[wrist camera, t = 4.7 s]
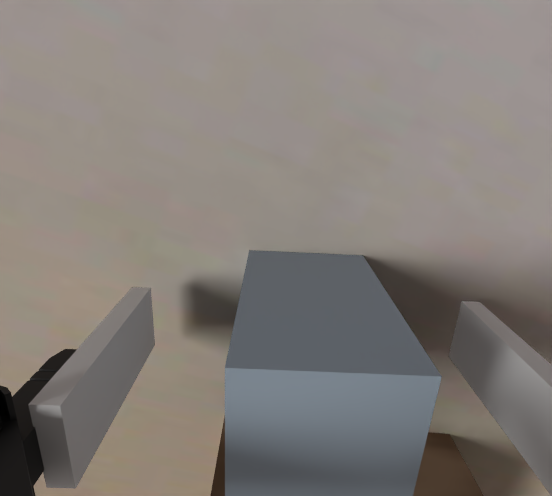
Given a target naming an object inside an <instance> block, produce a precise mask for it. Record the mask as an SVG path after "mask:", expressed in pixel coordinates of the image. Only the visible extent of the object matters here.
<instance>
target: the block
mask: <svg viewBox="0 0 552 496" xmlns="http://www.w3.org/2000/svg"><path fill="white" fill-rule="evenodd" d="M441 377H442V376H441V375H440V373H439V372H438V370H437V369H436V367H435V365H434V364H433V362H432V361H431V359H430V358H429V356H428V355H427V353H426V352H425V350H424V349H423V347H422V346H421V344H420V342H419V341H418V339H417V338H416V336H415V335H414V333H413V332H412V330H411V329H410V327H409V326H408V324H407V322H406V321H405V319H404V318H403V316H402V315H401V313H400V312H399V310H398V309H397V307H396V306H395V304H394V302H393V301H392V299H391V298H390V296H389V295H388V293H387V292H386V290H385V289H384V287H383V286H382V284H381V282H380V281H379V279H378V278H377V276H376V275H375V273H374V272H373V270H372V269H371V267H370V266H369V264H368V262H367V261H366V259H365V258H364V256H363V255H342V254H320V253H298V252H275V251H253V250H249V255H248V259H247V264H246V269H245V274H244V279H243V284H242V288H241V293H240V298H239V303H238V308H237V312H236V317H235V322H234V327H233V332H232V337H231V341H230V346H229V351H228V356H227V361H226V365H225V496H413V493H414V489H415V485H416V481H417V476H418V472H419V468H420V464H421V460H422V456H423V452H424V447H425V443H426V439H427V435H428V431H429V427H430V423H431V419H432V414H433V410H434V406H435V402H436V398H437V394H438V390H439V385H440V381H441Z"/></svg>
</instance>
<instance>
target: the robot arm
mask: <svg viewBox="0 0 552 496" xmlns="http://www.w3.org/2000/svg"><path fill="white" fill-rule="evenodd" d="M154 345H155V339H154V326H153V312H152V299H151V288H142V287H132V288H131V289H130V290H129V291H128V292H127V294H126V295H125V296H124V297H123V298H122V299H121V300H120V301H119V303H118V304H117V305H116V306H115V307H114V308H113V309H112V311H111V312H110V313H109V314H108V315H107V316H106V317H105V318H104V320H103V321H102V322H101V323H100V324H99V325H98V326H97V327H96V329H95V330H94V331H93V332H92V333H91V334H90V335H89V337H88V338H87V339H86V340H85V341H84V342H83V343H82V344H81V346H80V347H79V348H78V349H77V350H76V349H64V350H63V351H61V352H59V353H58V354H56V355H54V356H53V357H51V358H49V359H48V361H47V362H46V363H45V364H44V365H43V366H42V367H41V368H40V369H39V371H38V372H36V373H35V374H34V375H33V376H32V377H31V378H30V381H27V382H26V383H25V384H24V385H23V386H22V387H21V388H20V389H19V390H18V392H17V393H16V394H15V395H14V396H13V397H12V396H11V392H10V391H9V390H8V388H6V387H3V386H0V496H35V492H34V488H33V486H34V484H35V483H36V481H37V480H38V478H39V477H40V475H41V474H42V472H43V473H44V478H45V482H46V487H50V488H76V487H77V485H78V483H79V481H80V479H81V478H82V476H83V474H84V472H85V470H86V469H87V467H88V465H89V463H90V461H91V459H92V458H93V456H94V454H95V452H96V450H97V449H98V447H99V445H100V443H101V441H102V440H103V438H104V436H105V434H106V432H107V430H108V429H109V427H110V425H111V423H112V421H113V420H114V418H115V416H116V414H117V412H118V411H119V409H120V407H121V405H122V403H123V401H124V400H125V398H126V396H127V394H128V392H129V391H130V389H131V387H132V385H133V383H134V381H135V380H136V378H137V376H138V374H139V372H140V371H141V369H142V367H143V365H144V363H145V362H146V360H147V358H148V356H149V354H150V352H151V351H152V349H153V347H154ZM449 358H450V359H451V361H452V362H453V363H454V365H455V366H456V367H457V369H458V370H459V371H460V373H461V374H462V375H463V377H464V378H465V380H466V381H467V382H468V384H469V385H470V386H471V388H472V389H473V390H474V392H475V393H476V394H477V396H478V397H479V398H480V400H481V401H482V403H483V404H484V405H485V407H486V408H487V409H488V411H489V412H490V413H491V415H492V416H493V417H494V419H495V420H496V421H497V423H498V424H499V426H500V427H501V428H502V430H503V431H504V432H505V434H506V435H507V436H508V438H509V439H510V440H511V442H512V443H513V444H514V446H515V447H516V449H517V450H518V451H519V453H520V454H521V455H522V457H523V458H524V459H525V461H526V462H527V463H528V465H529V466H530V467H531V469H532V470H533V472H534V473H535V474H536V476H537V477H538V478H539V480H540V481H541V482H542V484H543V485H544V486H545V488H546V489H547V490H548V492H549V493H550V495H551V496H552V365H551V364H550V363H549V362H548V361H547V360H545V359H544V358H543V357H542V356H541V355H540V354H539V353H537V352H536V351H535V350H534V349H533V348H532V347H531V346H529V345H528V344H527V343H526V342H525V341H524V340H523V339H521V338H520V337H519V336H518V335H517V334H516V333H515V332H513V331H512V330H511V329H510V328H509V327H508V326H507V325H505V324H504V323H503V322H502V321H501V320H500V319H499V318H497V317H496V316H495V315H494V314H493V313H492V312H491V311H490V310H488V309H487V308H486V307H485V306H484V305H483V304H482V303H480V302H471V301H462V302H461V306H460V310H459V314H458V318H457V323H456V327H455V331H454V335H453V339H452V344H451V348H450V352H449Z"/></svg>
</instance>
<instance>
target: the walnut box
mask: <svg viewBox="0 0 552 496" xmlns="http://www.w3.org/2000/svg"><path fill="white" fill-rule="evenodd" d="M211 496H225V417H224V423H223V429H222V434H221V440H220V446H219V451H218V457H217V463H216V468H215V474H214V480H213V485H212V491H211ZM413 496H483V494H482V492H481V490H480V488H479V487H478V485H477V483H476V481H475V479H474V478H473V476H472V474H471V472H470V470H469V469H468V467H467V465H466V463H465V461H464V460H463V458H462V456H461V454H460V452H459V450H458V449H457V447H456V445H455V443H454V441H453V440H452V438H451V436H450V434H441V433H430V432H428V435H427V439H426V443H425V447H424V452H423V456H422V460H421V464H420V468H419V472H418V476H417V481H416V485H415V489H414V493H413Z"/></svg>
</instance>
